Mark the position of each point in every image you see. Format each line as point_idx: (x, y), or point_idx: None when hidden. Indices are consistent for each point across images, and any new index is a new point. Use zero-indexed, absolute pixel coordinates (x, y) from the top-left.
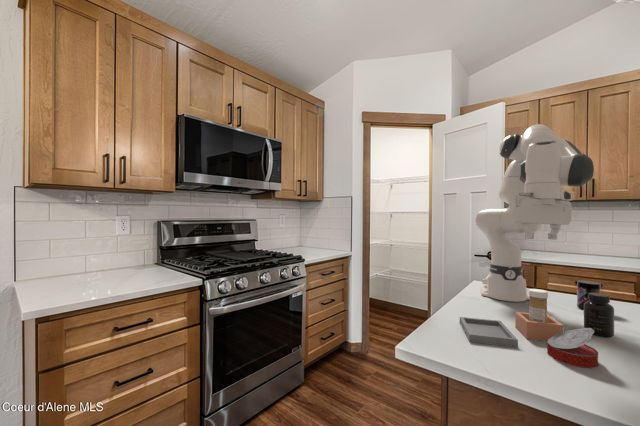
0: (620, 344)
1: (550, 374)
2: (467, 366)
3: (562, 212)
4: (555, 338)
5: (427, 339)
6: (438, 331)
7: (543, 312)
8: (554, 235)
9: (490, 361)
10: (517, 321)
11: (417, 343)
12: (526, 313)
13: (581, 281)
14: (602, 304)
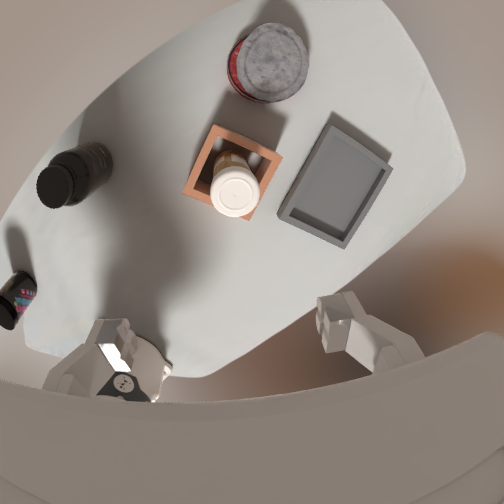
0: (103, 113)
1: (354, 44)
2: (436, 104)
3: (3, 472)
4: (277, 90)
5: (431, 188)
6: (400, 212)
7: (236, 159)
8: (110, 333)
9: (404, 101)
10: None
11: (448, 180)
12: None
13: (9, 323)
14: (67, 164)
